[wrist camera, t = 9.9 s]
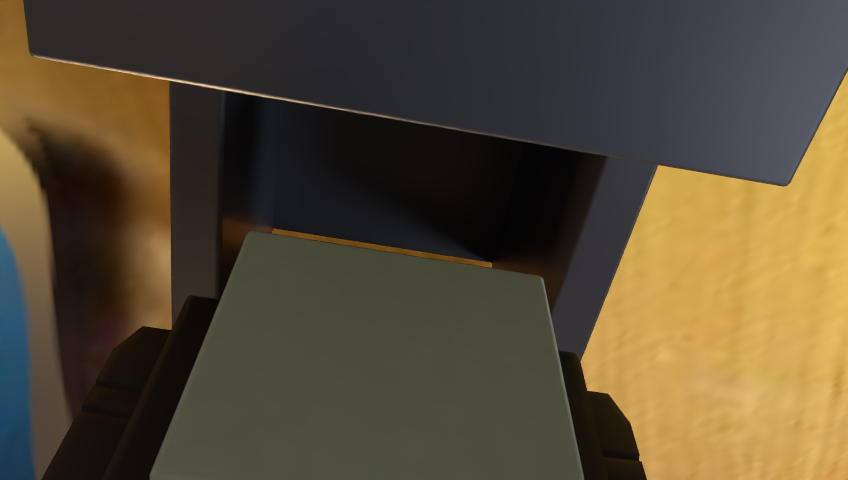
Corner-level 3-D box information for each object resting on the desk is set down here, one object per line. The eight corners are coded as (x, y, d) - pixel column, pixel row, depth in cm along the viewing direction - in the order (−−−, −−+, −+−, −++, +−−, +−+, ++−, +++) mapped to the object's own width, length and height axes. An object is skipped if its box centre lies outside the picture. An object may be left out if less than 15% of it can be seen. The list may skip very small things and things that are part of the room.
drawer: (487, 424, 23) (504, 643, 17) (216, 386, 22) (139, 602, 16) (665, -126, 14) (814, -56, 9) (236, -214, 14) (93, -200, 8)
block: (236, 435, 12) (154, 704, 8) (248, 226, 10) (145, 478, 6) (479, 467, 12) (496, 738, 9) (545, 273, 10) (600, 535, 7)
